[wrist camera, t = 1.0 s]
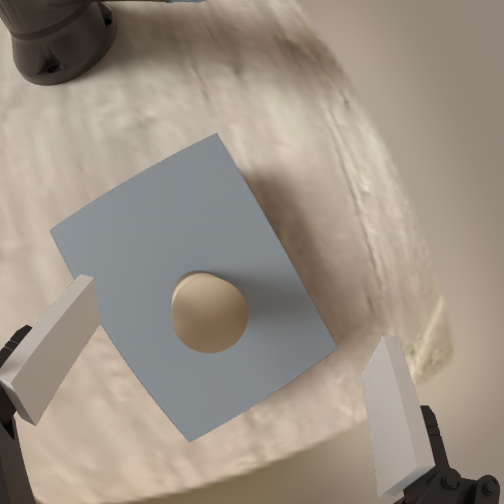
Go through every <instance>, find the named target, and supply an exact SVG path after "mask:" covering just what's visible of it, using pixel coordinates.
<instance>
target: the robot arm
mask: <svg viewBox="0 0 504 504" xmlns="http://www.w3.org/2000/svg"><path fill="white" fill-rule="evenodd" d="M107 1H153V2H166V3H174V2H202V1H205V0H0V17H1V19H2V20H3V22H4V24H5V25H6V27H7V28H8V30H9V31H10V33H11V38H12V49H13V58H14V62H15V65H16V67H17V69H18V70H19V72H20V73H21V74H22V76H23V77H24V78H25V79H26V80H28V81H29V82H31V83H34V84H38V85H53V84H58V83H62V82H65V81H68V80H71V79H73V78H75V77H77V76H79V75H81V74H82V73H84V72H86V71H87V70H88V69H90V68H91V67H92V66H94V65H95V64H96V63H97V62H98V61H99V60H100V59H101V58H102V57H103V56H104V55H105V53H106V52H107V51H108V49H109V48H110V46H111V44H112V42H113V40H114V37H115V33H116V24H115V18H114V14H113V11H112V9H111V7H110V6H109V5H108V3H107ZM99 324H100V318H99V311H98V304H97V297H96V289H95V280H94V277H90V276H86V275H83V274H80V275H79V276H78V277H77V278H76V279H75V280H74V282H73V283H72V284H71V285H70V286H69V287H68V288H67V289H66V290H65V291H64V292H63V294H62V295H61V296H60V297H59V298H58V299H57V300H56V301H55V302H54V304H53V305H52V306H51V307H50V308H49V309H48V310H47V312H46V313H45V314H44V315H43V316H42V317H41V318H40V320H39V321H38V322H37V323H36V324H35V326H34V327H30V326H28V325H26V326H24V327H23V328H21V329H19V330H18V331H16V333H15V334H14V335H13V336H12V337H11V339H10V341H8V342H7V343H6V345H5V347H3V348H2V349H1V351H0V504H36V503H35V500H34V497H33V493H32V490H31V487H30V483H29V480H28V476H27V473H26V469H25V465H24V461H23V457H22V452H21V448H20V443H19V438H18V433H17V428H16V422H15V419H14V416H13V415H14V413H15V412H16V411H17V412H18V414H19V415H20V417H21V418H22V419H24V420H25V421H27V422H29V423H31V424H33V425H35V426H36V425H37V423H38V422H39V420H40V418H41V416H42V415H43V413H44V411H45V409H46V408H47V406H48V404H49V403H50V401H51V399H52V398H53V396H54V394H55V393H56V391H57V389H58V388H59V386H60V384H61V383H62V381H63V380H64V378H65V376H66V375H67V373H68V372H69V370H70V368H71V367H72V365H73V364H74V362H75V361H76V359H77V358H78V356H79V354H80V353H81V351H82V350H83V348H84V347H85V345H86V344H87V342H88V341H89V339H90V338H91V336H92V335H93V333H94V332H95V330H96V329H97V327H98V326H99ZM361 380H362V386H363V391H364V397H365V403H366V409H367V415H368V421H369V428H370V435H371V441H372V449H373V456H374V464H375V472H376V481H377V490H378V497H386V496H395V495H397V494H398V493H400V492H401V491H403V492H404V497H402V498H401V499H399V500H398V501H397V502H395V503H394V504H498V503H499V495H500V485H499V483H498V481H497V480H496V478H495V477H493V476H491V475H485V476H483V477H481V478H480V479H478V480H477V481H476V480H470V479H465V478H461V476H460V474H459V473H458V472H457V471H456V470H455V469H452V468H450V466H449V464H448V460H447V456H446V452H445V448H444V445H443V441H442V437H441V436H440V430H439V428H438V424H437V420H436V417H435V414H434V413H433V412H432V410H431V409H430V407H429V406H420V405H419V401H418V398H417V395H416V391H415V388H414V385H413V382H412V379H411V375H410V372H409V369H408V366H407V363H406V360H405V357H404V354H403V351H402V348H401V346H400V343H399V340H398V337H393V336H385V335H383V336H382V338H381V340H380V342H379V344H378V346H377V348H376V349H375V351H374V353H373V355H372V357H371V358H370V360H369V362H368V364H367V365H366V367H365V369H364V371H363V372H362V374H361Z"/></svg>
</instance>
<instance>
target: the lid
mask: <svg viewBox="0 0 504 504" xmlns="http://www.w3.org/2000/svg"><path fill="white" fill-rule="evenodd" d="M49 231H50V233H51V235H52V237H53V239H54V241H55V243H56V245H57V247H58V249H59V251H60V253H61V255H62V257H63V259H64V261H65V263H66V265H67V267H68V269H69V270H70V272H71V274H72V276H73V278H74V280H75V279H76V278H77V277H78V276H79V275H80V274H83V275H86V276H90V277H94V280H95V289H96V297H97V304H98V311H99V318H100V324H101V325H102V327H103V329H104V330H105V332H106V333H107V335H108V336H109V338H110V339H111V341H112V342H113V344H114V345H115V347H116V348H117V350H118V351H119V353H120V354H121V356H122V357H123V359H124V360H125V362H126V363H127V364H128V366H129V367H130V369H131V370H132V371H133V373H134V374H135V376H136V377H137V378H138V380H139V381H140V382H141V384H142V385H143V386H144V388H145V389H146V390H147V392H148V393H149V394H150V396H151V397H152V398H153V399H154V401H155V402H156V403H157V405H158V406H159V407H160V408H161V410H162V411H163V412H164V413H165V414H166V416H167V417H168V418H169V419H170V421H171V422H172V423H173V424H174V425H175V426H176V428H177V429H178V430H179V431H180V432H181V433H182V435H183V436H184V437H185V438H186V439H187V440H188V441H189V443H190V442H192V441H193V440H195V439H197V438H199V437H201V436H203V435H204V434H206V433H208V432H210V431H212V430H213V429H215V428H217V427H219V426H220V425H222V424H224V423H226V422H227V421H229V420H231V419H232V418H234V417H236V416H238V415H239V414H241V413H242V412H244V411H246V410H247V409H249V408H251V407H252V406H254V405H255V404H257V403H259V402H260V401H262V400H263V399H265V398H267V397H268V396H270V395H271V394H273V393H274V392H276V391H277V390H279V389H280V388H282V387H283V386H285V385H286V384H288V383H289V382H291V381H292V380H294V379H295V378H297V377H298V376H300V375H301V374H302V373H304V372H305V371H307V370H308V369H310V368H311V367H312V366H314V365H315V364H317V363H318V362H319V361H321V360H322V359H323V358H325V357H326V356H328V355H329V354H330V353H332V352H333V351H334V350H336V349H337V348H338V347H337V346H336V344H335V342H334V340H333V338H332V336H331V334H330V332H329V331H328V329H327V327H326V325H325V323H324V321H323V319H322V318H321V316H320V314H319V312H318V310H317V308H316V306H315V305H314V303H313V301H312V299H311V297H310V295H309V294H308V292H307V290H306V288H305V286H304V284H303V283H302V281H301V279H300V277H299V275H298V274H297V272H296V270H295V268H294V266H293V264H292V263H291V261H290V259H289V257H288V255H287V254H286V252H285V250H284V248H283V247H282V245H281V243H280V241H279V239H278V238H277V236H276V234H275V232H274V231H273V229H272V227H271V225H270V223H269V222H268V220H267V218H266V216H265V215H264V213H263V211H262V209H261V208H260V206H259V204H258V202H257V201H256V199H255V197H254V196H253V194H252V192H251V190H250V189H249V187H248V185H247V183H246V182H245V180H244V178H243V177H242V175H241V173H240V171H239V170H238V168H237V166H236V165H235V163H234V161H233V159H232V158H231V156H230V154H229V153H228V151H227V149H226V148H225V146H224V144H223V143H222V141H221V139H220V137H219V136H218V134H217V133H215V134H213V135H211V136H209V137H207V138H205V139H203V140H201V141H199V142H197V143H195V144H193V145H191V146H189V147H187V148H185V149H183V150H181V151H179V152H177V153H176V154H174V155H172V156H170V157H168V158H166V159H164V160H162V161H161V162H159V163H157V164H155V165H153V166H151V167H150V168H148V169H146V170H144V171H143V172H141V173H139V174H137V175H136V176H134V177H132V178H130V179H129V180H127V181H125V182H124V183H122V184H120V185H118V186H117V187H115V188H114V189H112V190H110V191H109V192H107V193H105V194H104V195H102V196H100V197H99V198H97V199H96V200H94V201H93V202H91V203H89V204H88V205H86V206H85V207H83V208H82V209H80V210H79V211H77V212H76V213H74V214H73V215H71V216H70V217H68V218H67V219H65V220H64V221H62V222H61V223H59V224H58V225H56V226H55V227H53V228H52V229H51V230H49Z"/></svg>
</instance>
